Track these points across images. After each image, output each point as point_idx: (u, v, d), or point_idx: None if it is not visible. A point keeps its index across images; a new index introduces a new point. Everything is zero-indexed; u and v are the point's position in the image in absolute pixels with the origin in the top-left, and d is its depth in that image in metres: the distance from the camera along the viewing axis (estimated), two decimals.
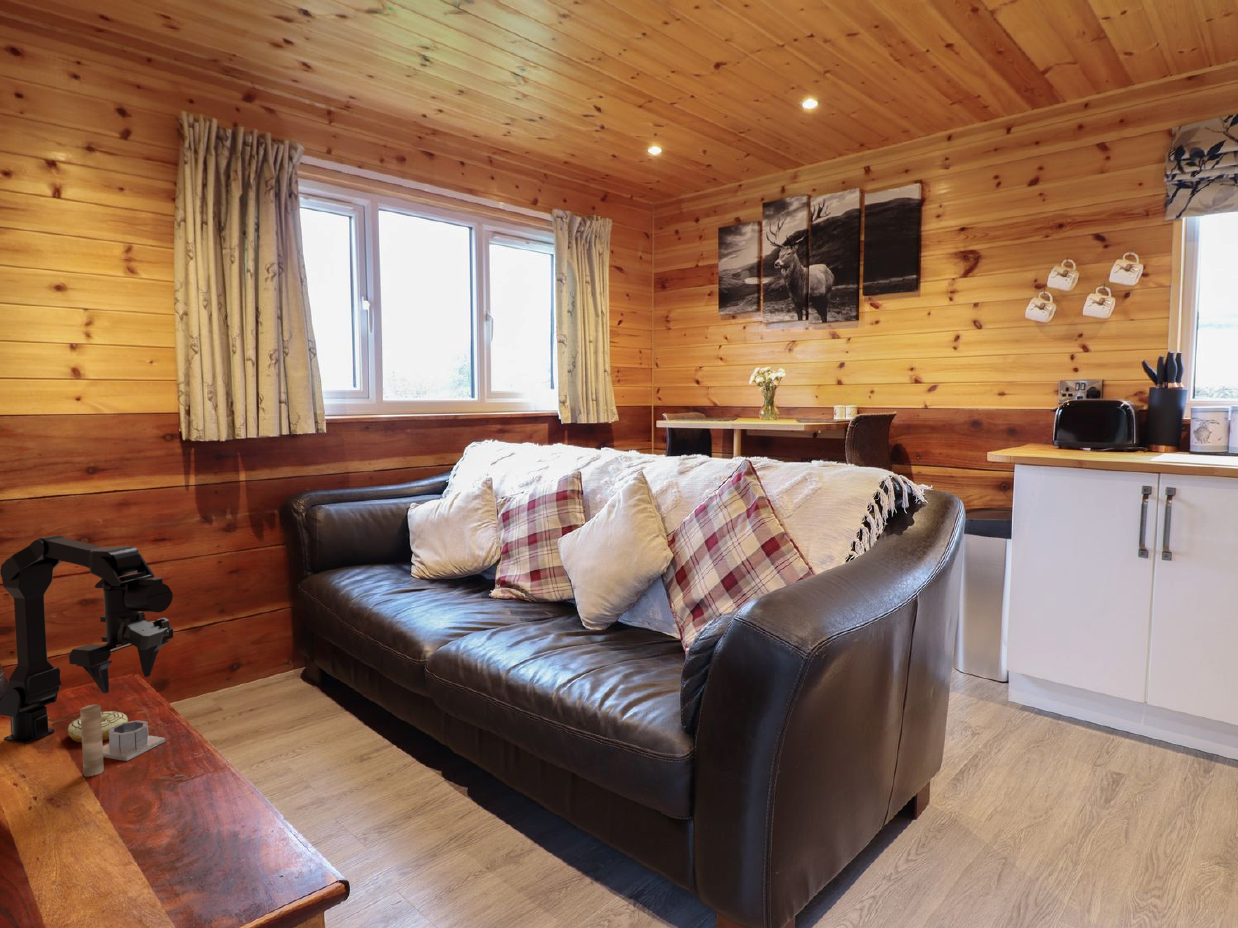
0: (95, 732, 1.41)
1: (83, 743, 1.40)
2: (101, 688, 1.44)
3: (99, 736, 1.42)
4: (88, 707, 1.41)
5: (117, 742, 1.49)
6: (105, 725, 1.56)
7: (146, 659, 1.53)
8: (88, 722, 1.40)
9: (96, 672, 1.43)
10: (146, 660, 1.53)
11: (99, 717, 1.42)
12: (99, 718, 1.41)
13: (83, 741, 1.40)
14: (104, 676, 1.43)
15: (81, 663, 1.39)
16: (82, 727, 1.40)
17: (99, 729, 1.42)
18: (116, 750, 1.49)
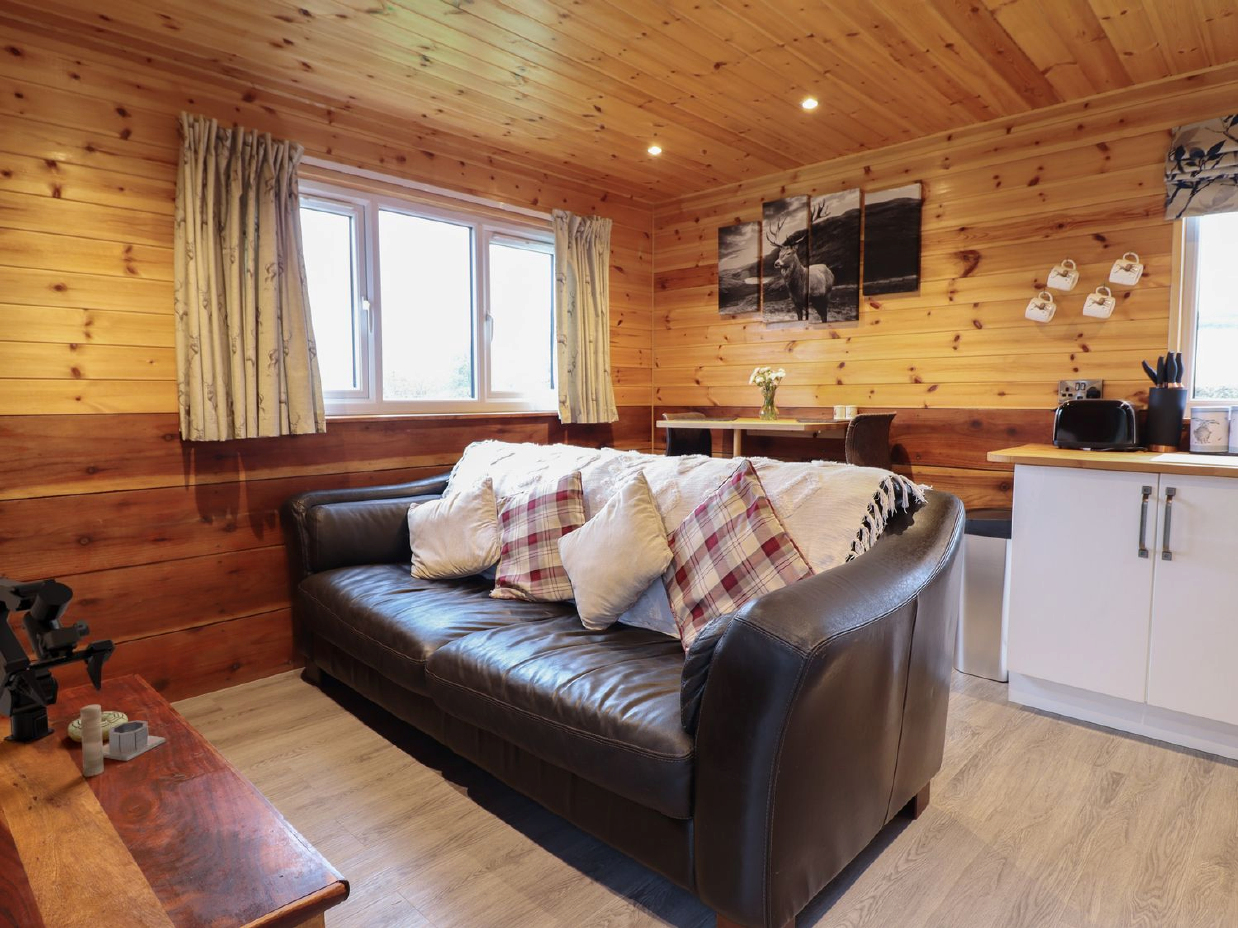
0: (95, 732, 1.41)
1: (83, 743, 1.40)
2: (40, 702, 1.41)
3: (99, 736, 1.42)
4: (88, 707, 1.41)
5: (117, 742, 1.49)
6: (105, 725, 1.56)
7: (93, 674, 1.50)
8: (88, 722, 1.40)
9: (29, 688, 1.42)
10: (93, 675, 1.50)
11: (99, 717, 1.42)
12: (99, 718, 1.41)
13: (83, 741, 1.40)
14: (34, 687, 1.41)
15: (3, 678, 1.40)
16: (82, 727, 1.40)
17: (99, 729, 1.42)
18: (116, 750, 1.49)
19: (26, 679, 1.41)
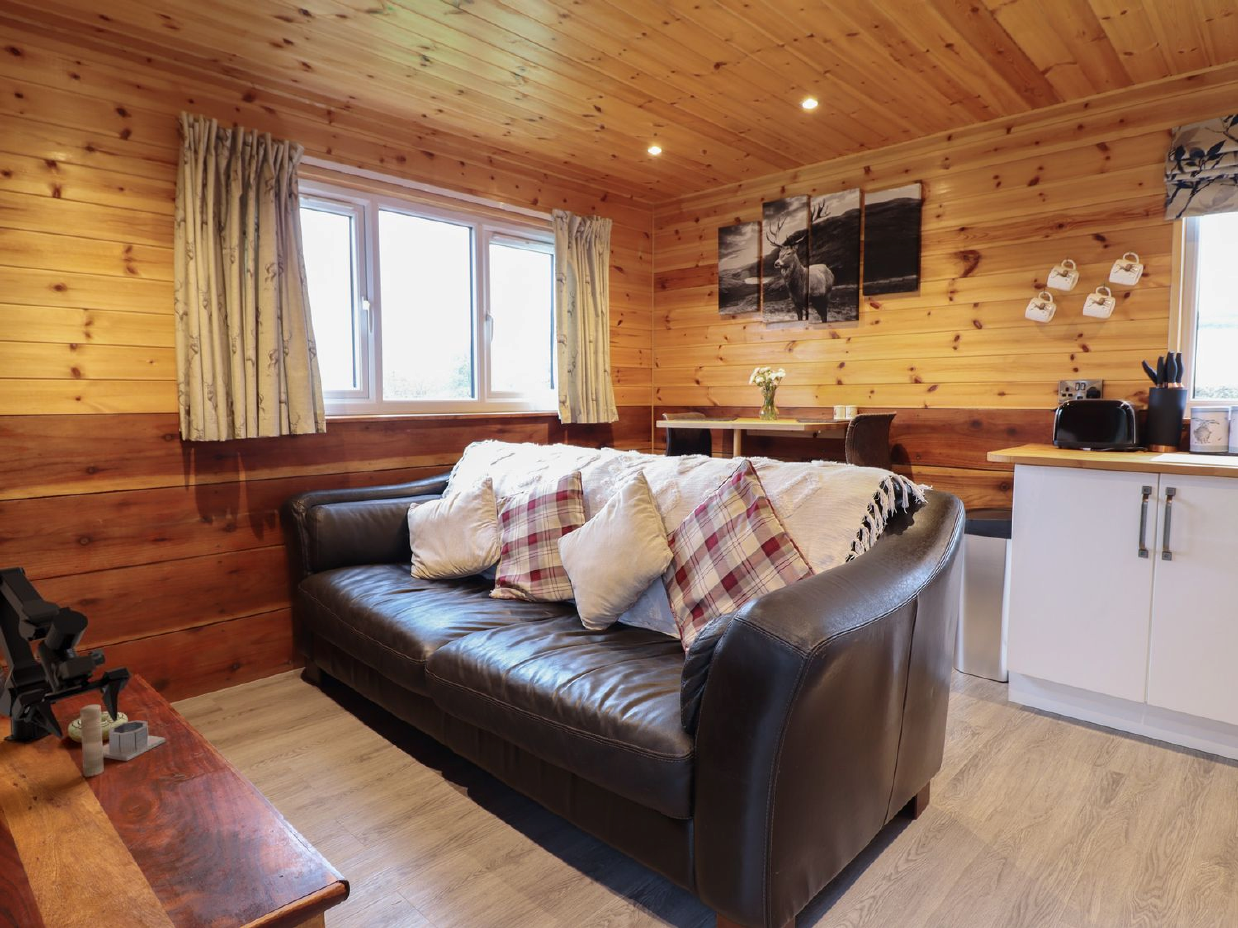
0: (95, 732, 1.41)
1: (83, 743, 1.40)
2: (56, 734, 1.38)
3: (99, 736, 1.42)
4: (88, 707, 1.41)
5: (117, 742, 1.49)
6: (104, 725, 1.56)
7: (109, 704, 1.47)
8: (88, 722, 1.40)
9: (45, 720, 1.39)
10: (109, 705, 1.47)
11: (99, 717, 1.42)
12: (99, 718, 1.41)
13: (83, 741, 1.40)
14: (50, 718, 1.38)
15: (18, 710, 1.36)
16: (82, 727, 1.40)
17: (99, 729, 1.42)
18: (116, 750, 1.49)
19: (41, 711, 1.38)
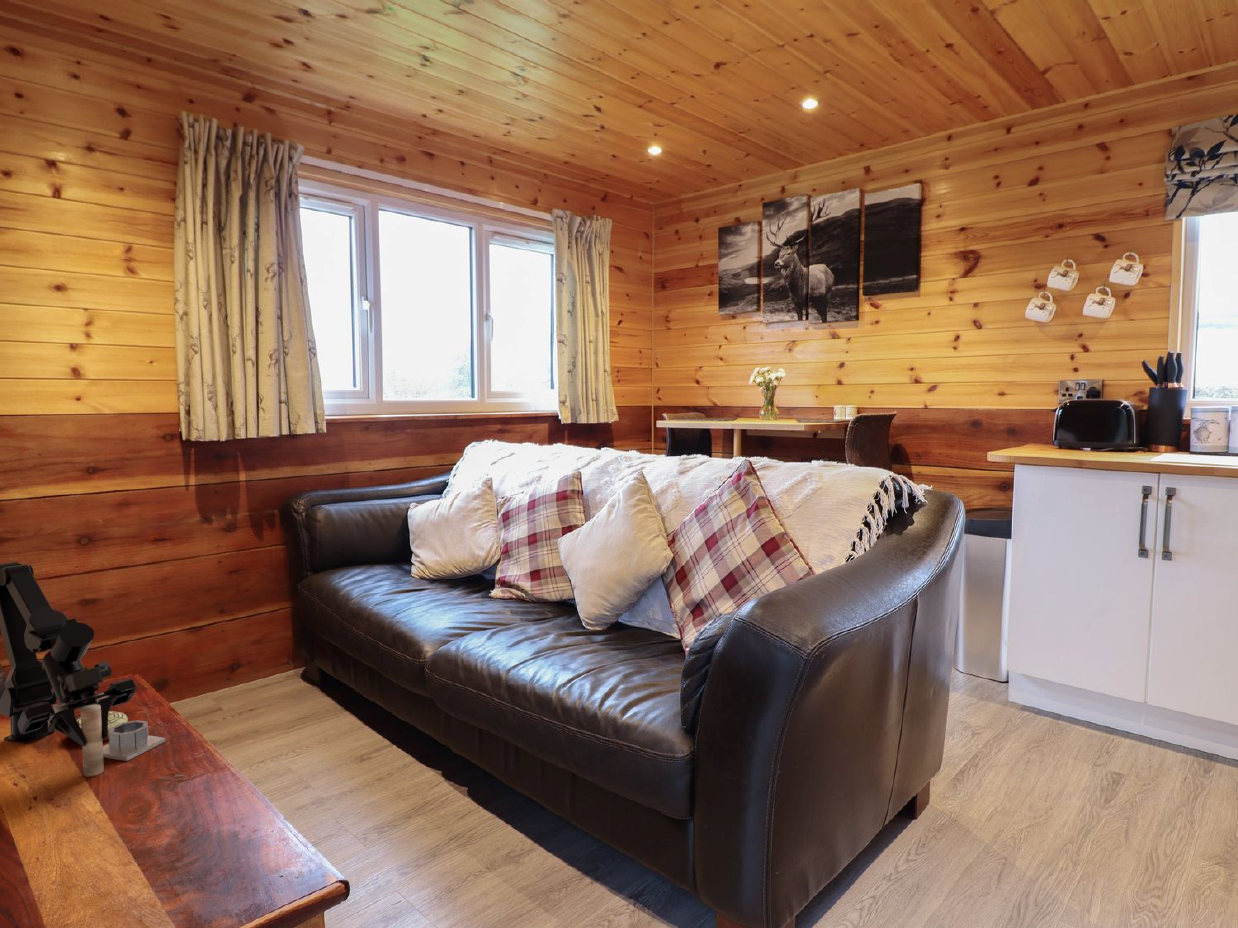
0: (95, 732, 1.41)
1: None
2: (79, 742, 1.40)
3: (99, 736, 1.42)
4: (88, 707, 1.41)
5: (117, 742, 1.49)
6: None
7: None
8: (88, 722, 1.40)
9: (68, 728, 1.40)
10: None
11: (99, 717, 1.41)
12: (99, 718, 1.41)
13: None
14: (73, 726, 1.39)
15: (24, 723, 1.35)
16: (82, 727, 1.40)
17: (99, 729, 1.42)
18: (116, 750, 1.49)
19: (65, 719, 1.39)
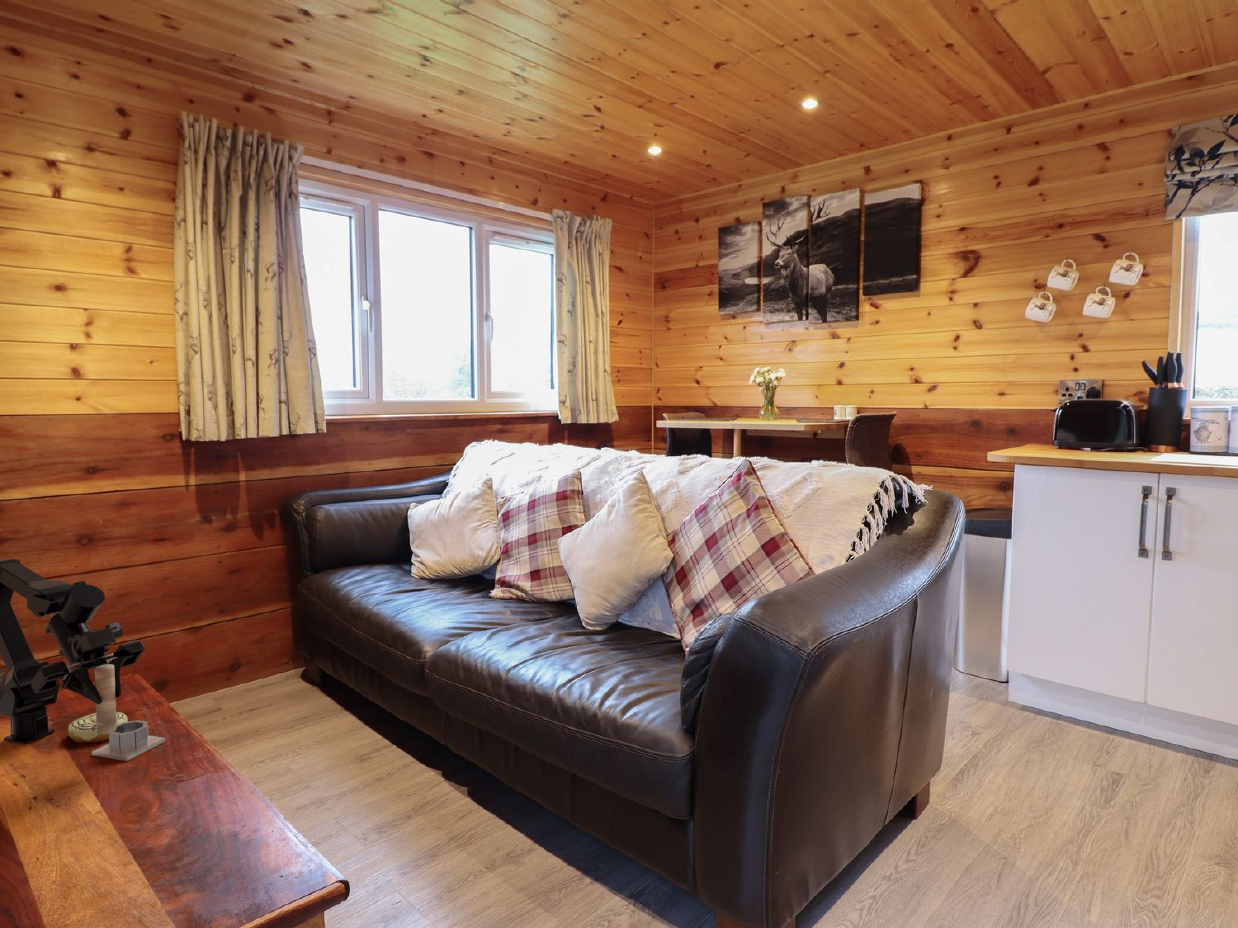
0: (110, 691, 1.44)
1: None
2: (94, 700, 1.43)
3: (113, 694, 1.45)
4: (101, 666, 1.44)
5: (117, 742, 1.49)
6: None
7: None
8: (103, 681, 1.43)
9: (82, 687, 1.43)
10: None
11: (113, 676, 1.45)
12: (113, 677, 1.45)
13: None
14: (88, 685, 1.42)
15: (40, 682, 1.38)
16: (97, 686, 1.43)
17: (113, 688, 1.45)
18: (116, 750, 1.49)
19: (80, 678, 1.42)
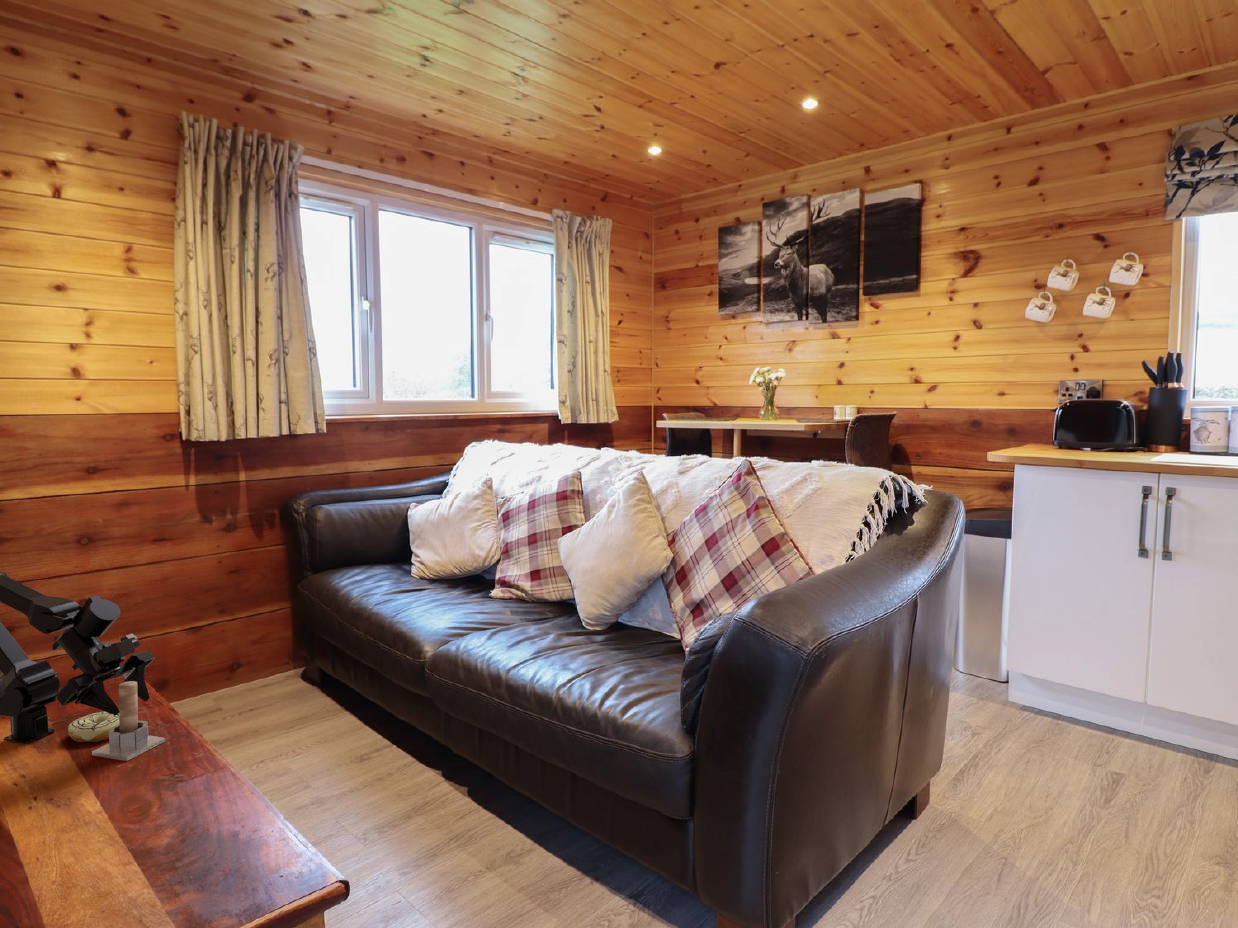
0: (134, 706, 1.51)
1: (123, 717, 1.50)
2: (111, 711, 1.48)
3: (137, 709, 1.52)
4: (125, 684, 1.51)
5: (117, 742, 1.49)
6: (104, 725, 1.56)
7: (137, 686, 1.55)
8: (129, 697, 1.50)
9: (97, 700, 1.47)
10: (138, 687, 1.55)
11: (136, 692, 1.52)
12: (136, 693, 1.52)
13: (123, 715, 1.50)
14: (105, 697, 1.47)
15: (69, 694, 1.43)
16: (122, 702, 1.50)
17: (137, 703, 1.52)
18: (116, 750, 1.49)
19: (97, 691, 1.46)
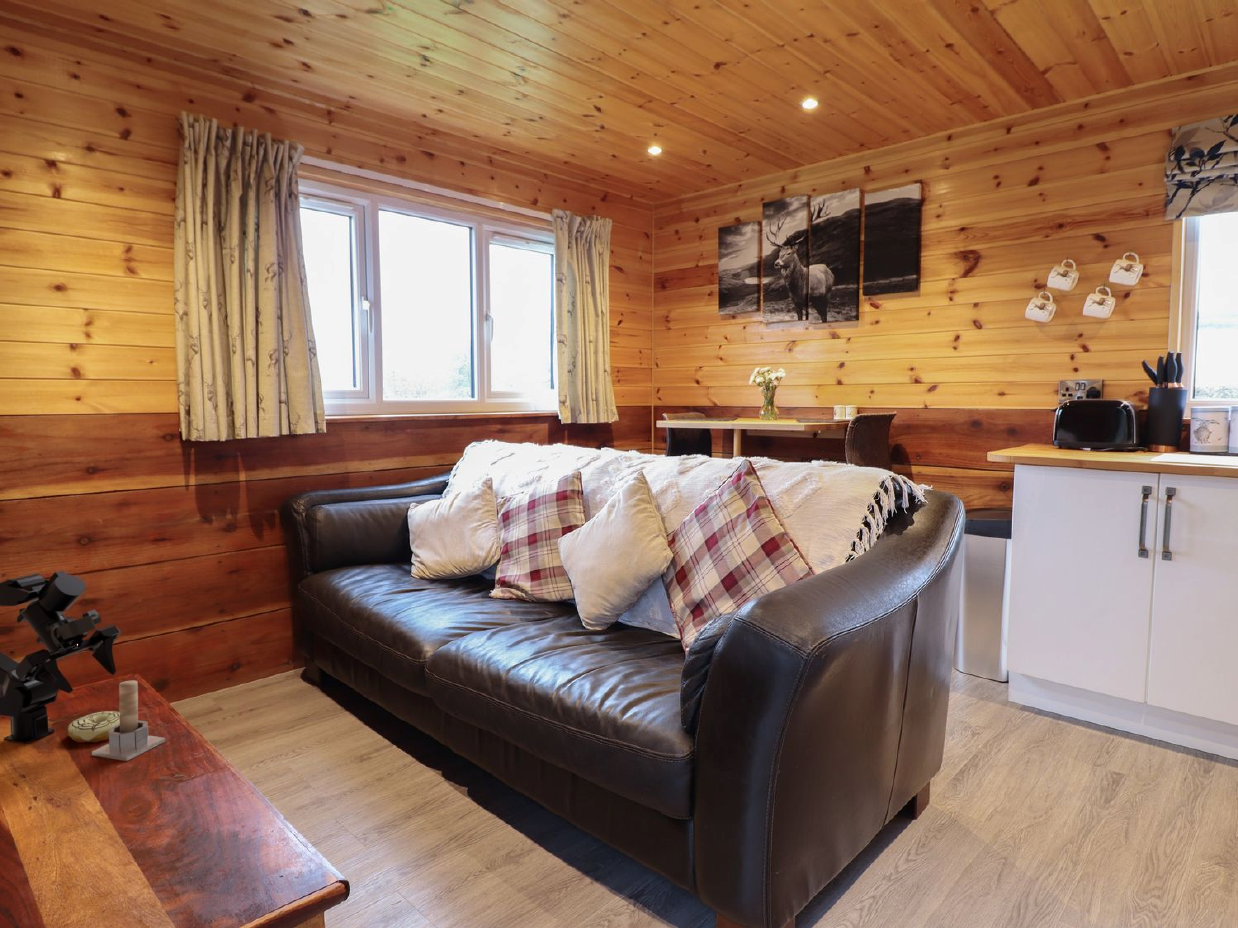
0: (135, 705, 1.52)
1: (123, 716, 1.51)
2: (65, 689, 1.48)
3: (137, 708, 1.52)
4: (125, 682, 1.52)
5: (117, 742, 1.49)
6: (104, 725, 1.56)
7: (105, 660, 1.57)
8: (129, 696, 1.51)
9: (51, 678, 1.48)
10: (105, 660, 1.57)
11: (137, 691, 1.53)
12: (137, 692, 1.53)
13: (123, 714, 1.51)
14: (58, 676, 1.47)
15: (26, 670, 1.44)
16: (122, 701, 1.50)
17: (137, 702, 1.53)
18: (116, 750, 1.49)
19: (49, 669, 1.46)
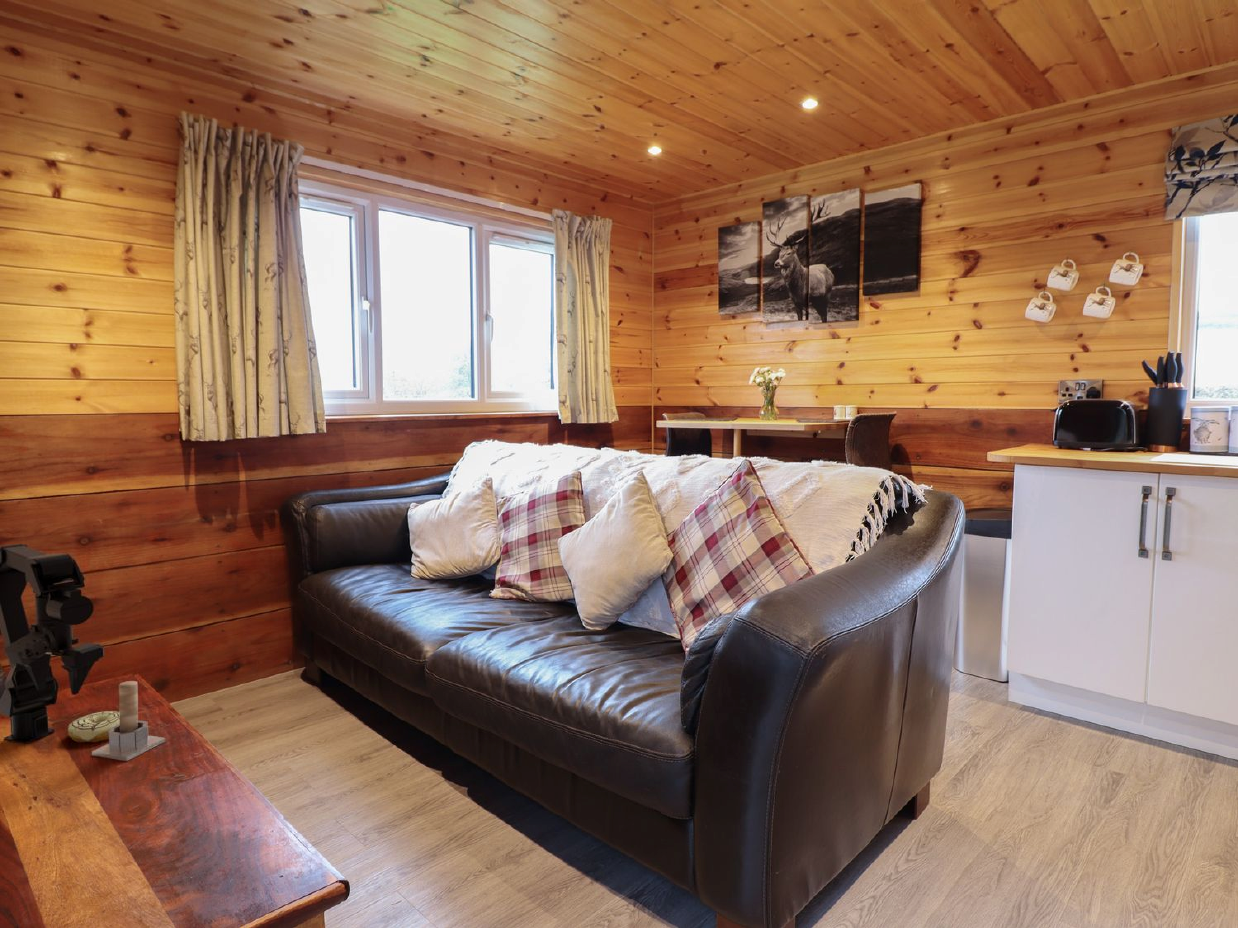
0: (135, 706, 1.51)
1: (123, 717, 1.50)
2: None
3: (137, 709, 1.52)
4: (125, 683, 1.51)
5: (117, 742, 1.49)
6: (104, 725, 1.56)
7: None
8: (129, 697, 1.50)
9: None
10: None
11: (137, 692, 1.52)
12: (137, 693, 1.52)
13: (123, 715, 1.50)
14: (30, 672, 1.49)
15: None
16: (122, 702, 1.50)
17: (137, 703, 1.52)
18: (116, 750, 1.49)
19: (23, 664, 1.49)
